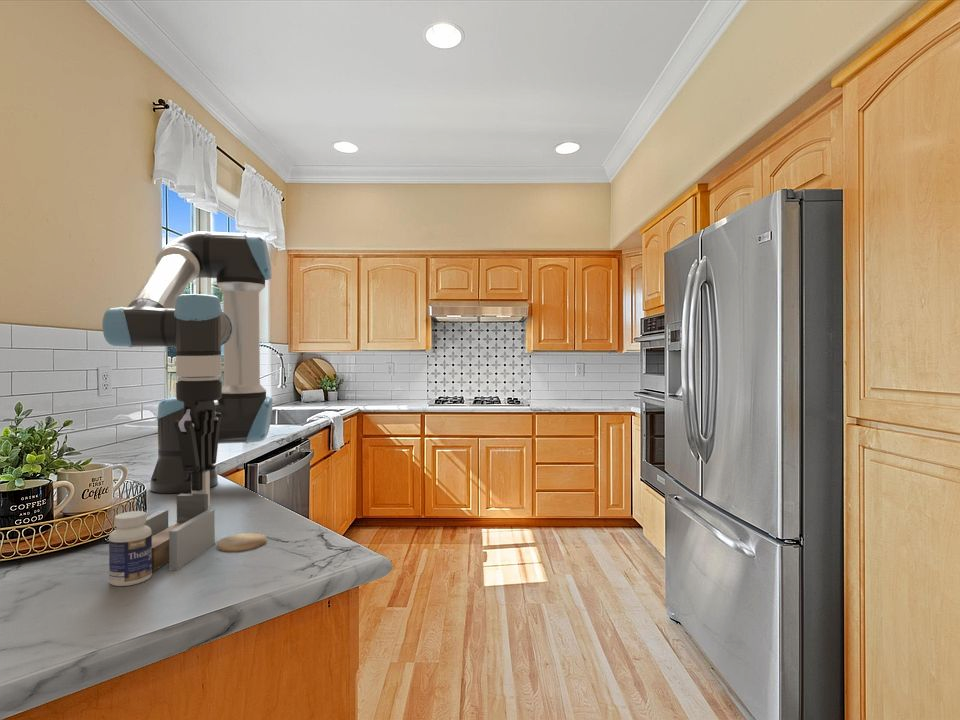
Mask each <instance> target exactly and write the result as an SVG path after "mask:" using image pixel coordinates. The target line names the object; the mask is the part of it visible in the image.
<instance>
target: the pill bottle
mask: <svg viewBox="0 0 960 720" xmlns="http://www.w3.org/2000/svg"><path fill="white" fill-rule="evenodd" d="M146 517H147V512H146V511H143V510H132V511H126V512H121V513H119V514H116V515H115V516H114V519H113V520H114V522H113V523H114V527H115V528H116V529H114V530H112V531H111V532H110V534H109V537H108V557H109V558H108V562H109V564H108V567H109V571H108V573H109V575H108V577H109V579H108V580H109V583H110V585H112V586H115V587H129V586H133V585H137V584H140V583H143V582H146V581H148V580H149V579H150V578H151V577H152V574H153V571H152V531H151V528H150V527H149V526H146V525H144V523H146Z"/></svg>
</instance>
